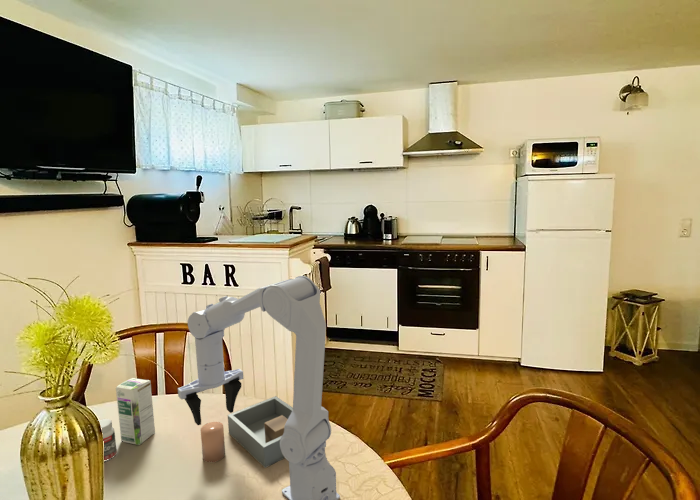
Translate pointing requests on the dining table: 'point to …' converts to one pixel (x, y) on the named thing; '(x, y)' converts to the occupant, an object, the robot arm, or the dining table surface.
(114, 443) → the pill bottle
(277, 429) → the walnut cube
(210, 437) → the terracotta cylinder
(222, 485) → the dining table surface
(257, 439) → the box
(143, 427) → the syrup box
